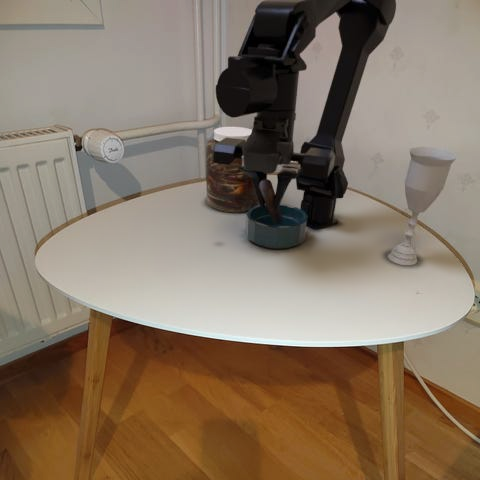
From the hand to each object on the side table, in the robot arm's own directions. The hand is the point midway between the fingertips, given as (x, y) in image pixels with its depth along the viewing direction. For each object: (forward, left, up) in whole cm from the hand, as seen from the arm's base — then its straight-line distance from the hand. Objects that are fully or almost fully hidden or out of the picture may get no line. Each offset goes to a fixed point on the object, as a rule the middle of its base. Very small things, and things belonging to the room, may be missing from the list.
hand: (269, 209), depth 71 cm
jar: (-7, -23, -8) cm, 25 cm away
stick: (-5, -4, -4) cm, 7 cm away
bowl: (-5, -4, -8) cm, 10 cm away
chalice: (-20, +14, -8) cm, 26 cm away
